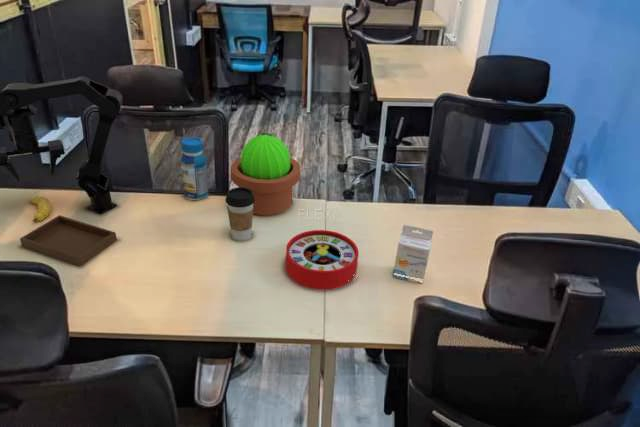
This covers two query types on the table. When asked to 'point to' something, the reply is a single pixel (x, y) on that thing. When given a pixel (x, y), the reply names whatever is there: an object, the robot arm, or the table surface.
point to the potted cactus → (266, 174)
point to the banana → (41, 207)
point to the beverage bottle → (194, 169)
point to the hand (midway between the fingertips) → (35, 177)
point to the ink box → (413, 253)
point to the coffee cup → (240, 212)
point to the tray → (69, 240)
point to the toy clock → (321, 259)
